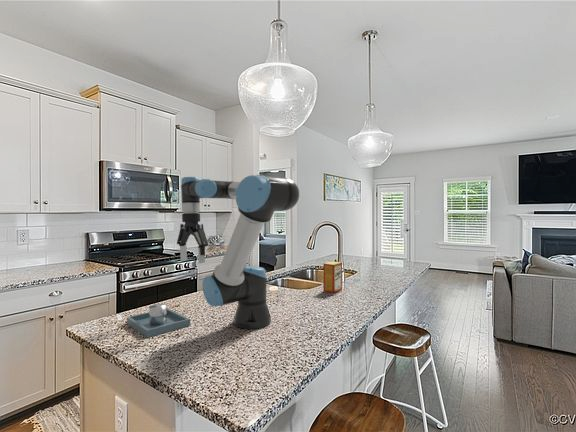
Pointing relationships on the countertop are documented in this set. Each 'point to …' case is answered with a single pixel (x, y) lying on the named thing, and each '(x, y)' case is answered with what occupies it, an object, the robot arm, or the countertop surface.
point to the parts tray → (144, 327)
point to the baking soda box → (332, 276)
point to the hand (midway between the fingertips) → (192, 261)
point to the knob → (157, 314)
